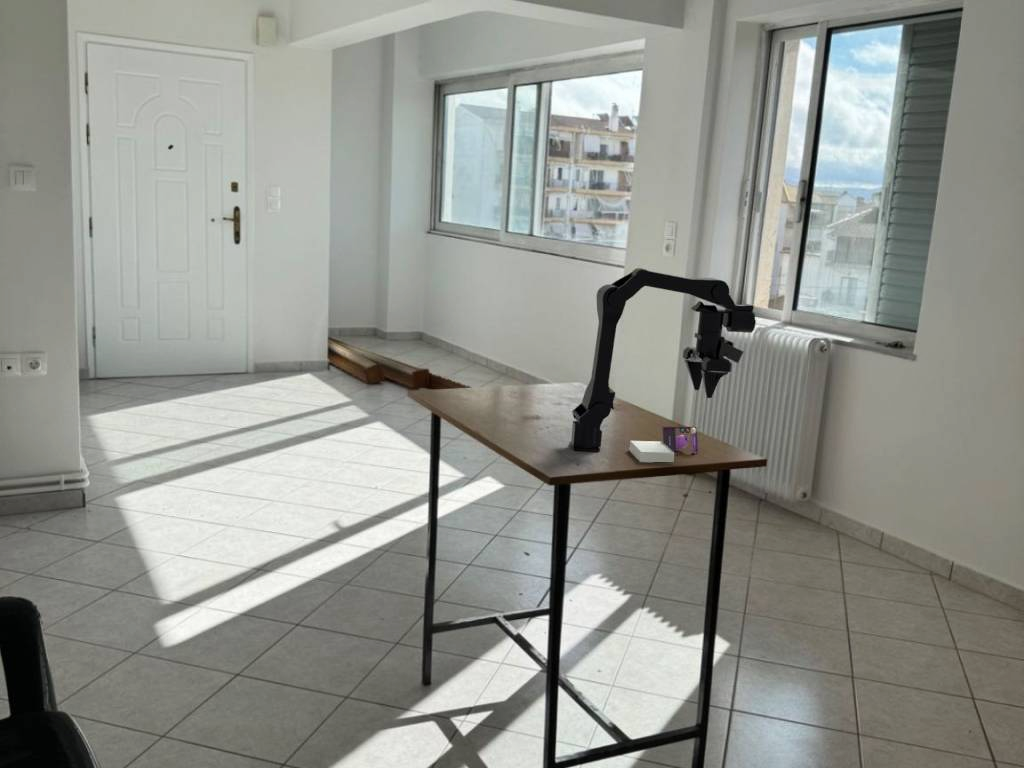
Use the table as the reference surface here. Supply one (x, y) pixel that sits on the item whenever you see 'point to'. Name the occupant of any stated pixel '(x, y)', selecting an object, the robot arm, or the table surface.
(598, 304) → the robot arm
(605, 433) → the table surface
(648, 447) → the slab
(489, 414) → the table surface
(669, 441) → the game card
